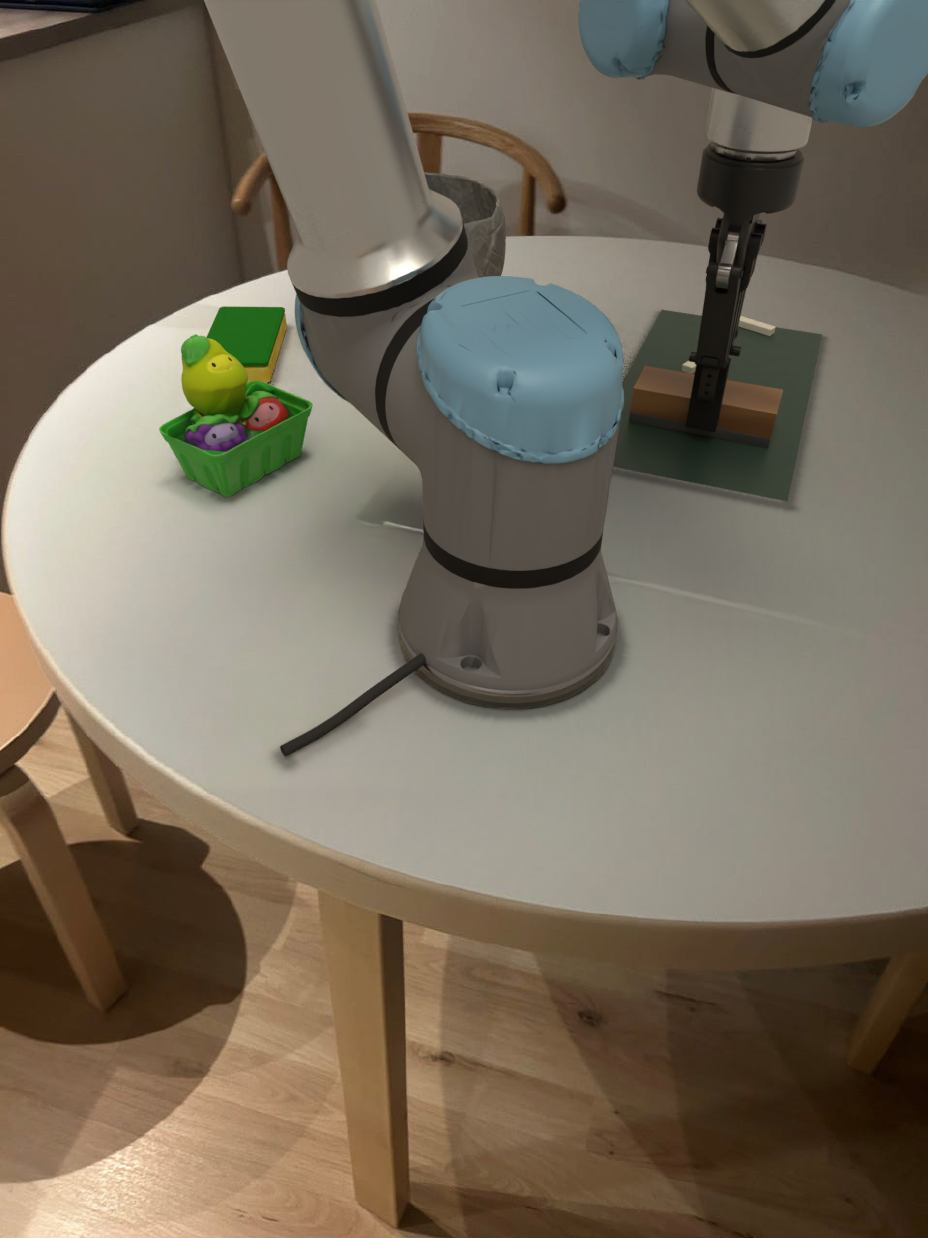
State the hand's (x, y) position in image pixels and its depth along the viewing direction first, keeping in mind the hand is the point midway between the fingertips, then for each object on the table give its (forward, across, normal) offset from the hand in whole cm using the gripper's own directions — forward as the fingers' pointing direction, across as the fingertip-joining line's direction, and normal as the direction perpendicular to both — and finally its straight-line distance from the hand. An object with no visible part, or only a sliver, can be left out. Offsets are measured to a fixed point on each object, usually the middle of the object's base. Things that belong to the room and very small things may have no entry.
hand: (701, 425), depth 87 cm
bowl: (+2, +12, +34) cm, 36 cm away
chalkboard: (+2, +10, 0) cm, 11 cm away
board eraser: (+1, +3, 0) cm, 4 cm away
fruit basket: (+2, -19, +37) cm, 42 cm away
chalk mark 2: (+1, +15, +3) cm, 16 cm away
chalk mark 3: (+2, +27, -1) cm, 27 cm away
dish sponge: (+2, 0, +48) cm, 48 cm away
